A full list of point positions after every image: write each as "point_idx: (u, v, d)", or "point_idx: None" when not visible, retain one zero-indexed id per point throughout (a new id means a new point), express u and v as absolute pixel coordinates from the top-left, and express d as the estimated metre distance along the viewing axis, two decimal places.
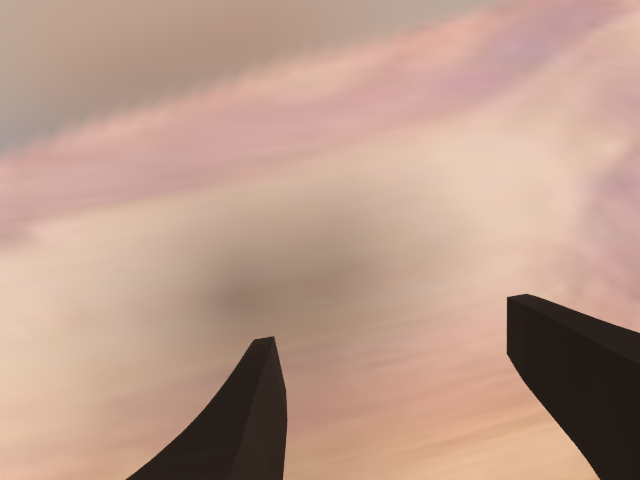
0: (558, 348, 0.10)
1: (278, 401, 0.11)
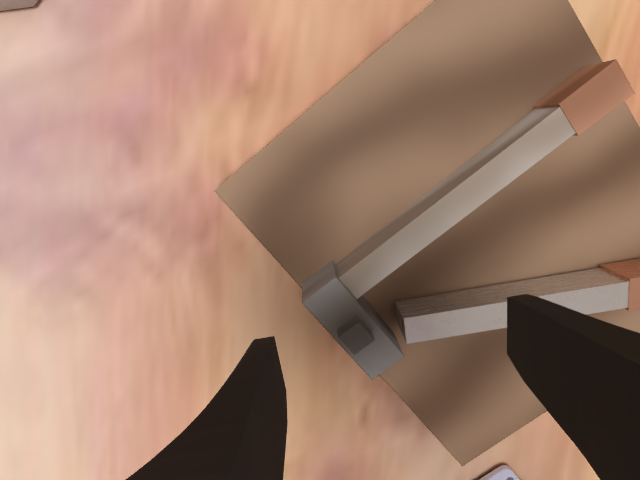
0: (558, 348, 0.10)
1: (278, 401, 0.11)
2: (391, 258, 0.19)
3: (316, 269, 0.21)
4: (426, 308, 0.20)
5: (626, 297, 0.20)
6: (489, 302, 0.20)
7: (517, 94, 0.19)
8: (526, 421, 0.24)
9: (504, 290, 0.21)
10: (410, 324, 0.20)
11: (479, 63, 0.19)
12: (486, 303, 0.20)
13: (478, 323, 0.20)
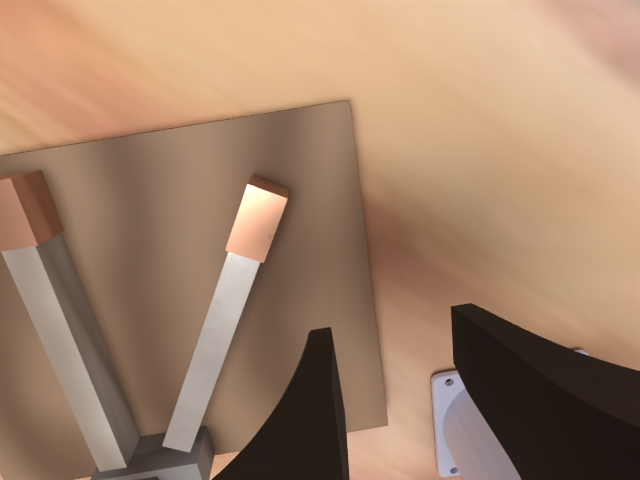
0: (490, 360, 0.10)
1: (339, 390, 0.11)
2: (99, 431, 0.20)
3: None
4: None
5: (246, 259, 0.17)
6: None
7: None
8: (376, 357, 0.22)
9: None
10: (170, 443, 0.20)
11: None
12: (185, 378, 0.19)
13: (200, 394, 0.19)
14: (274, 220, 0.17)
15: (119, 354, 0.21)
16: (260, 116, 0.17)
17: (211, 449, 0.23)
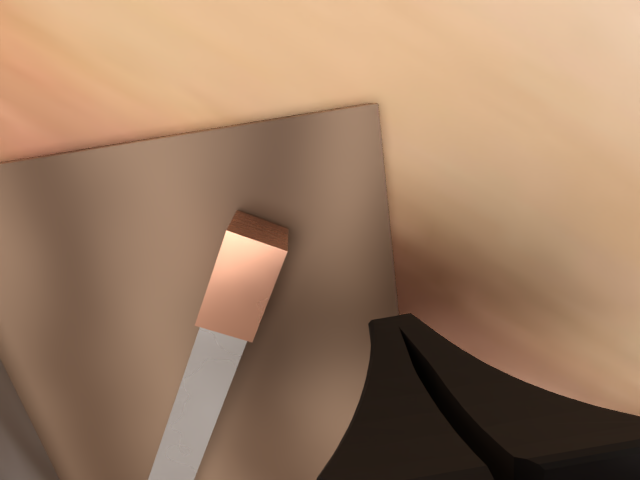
0: (418, 372, 0.10)
1: None
2: None
3: None
4: None
5: (226, 338, 0.12)
6: None
7: None
8: None
9: None
10: None
11: None
12: None
13: None
14: (267, 282, 0.11)
15: (58, 448, 0.15)
16: (248, 126, 0.12)
17: None
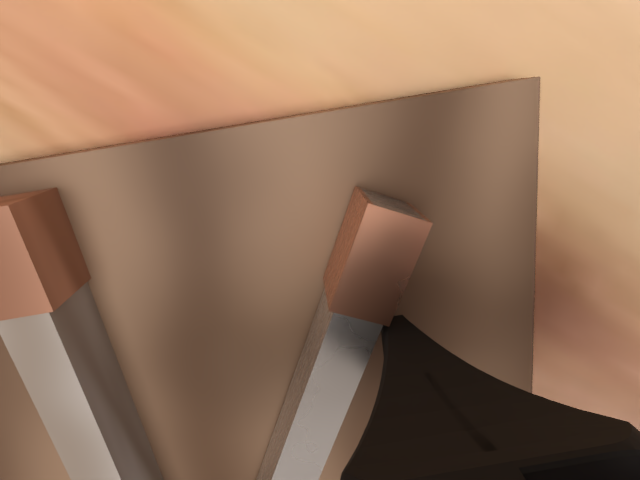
0: None
1: None
2: None
3: None
4: None
5: (361, 323, 0.11)
6: None
7: None
8: None
9: (277, 436, 0.13)
10: None
11: None
12: None
13: None
14: (409, 259, 0.10)
15: (166, 448, 0.14)
16: (400, 102, 0.11)
17: None
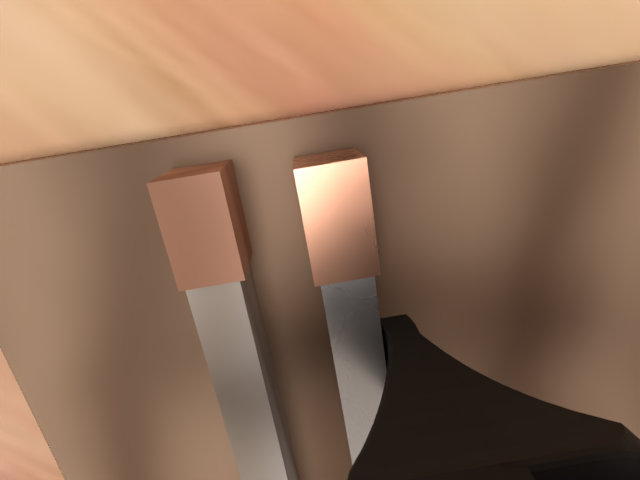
0: None
1: None
2: None
3: None
4: None
5: (352, 283, 0.10)
6: None
7: (168, 275, 0.12)
8: None
9: None
10: None
11: (100, 307, 0.12)
12: None
13: None
14: (363, 202, 0.10)
15: (301, 426, 0.14)
16: (575, 75, 0.11)
17: None
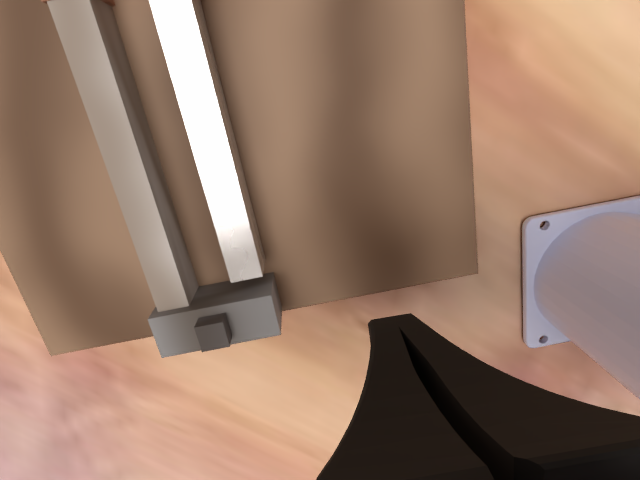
0: (418, 372, 0.10)
1: None
2: (158, 256, 0.17)
3: None
4: None
5: None
6: None
7: (51, 26, 0.16)
8: (469, 182, 0.19)
9: None
10: (237, 275, 0.17)
11: (0, 56, 0.16)
12: None
13: (230, 198, 0.16)
14: None
15: (176, 176, 0.18)
16: None
17: (279, 300, 0.20)
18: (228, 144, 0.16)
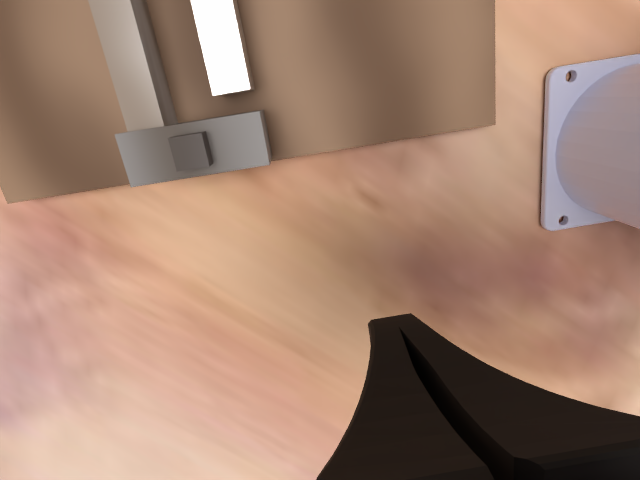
0: (418, 372, 0.10)
1: None
2: (129, 57, 0.15)
3: None
4: None
5: None
6: None
7: None
8: (490, 6, 0.17)
9: None
10: (220, 85, 0.15)
11: None
12: None
13: None
14: None
15: None
16: None
17: (269, 143, 0.17)
18: None
